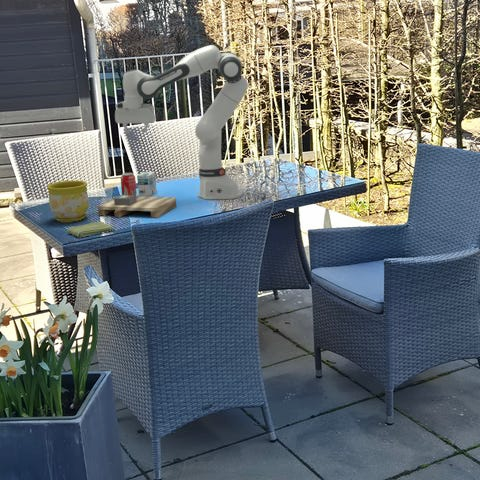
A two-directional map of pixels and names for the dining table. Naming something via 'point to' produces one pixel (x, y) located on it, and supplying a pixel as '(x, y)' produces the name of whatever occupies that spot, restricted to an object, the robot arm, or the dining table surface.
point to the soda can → (128, 184)
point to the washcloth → (89, 229)
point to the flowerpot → (68, 200)
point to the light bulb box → (146, 183)
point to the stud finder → (125, 200)
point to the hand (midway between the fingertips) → (136, 132)
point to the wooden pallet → (140, 206)
